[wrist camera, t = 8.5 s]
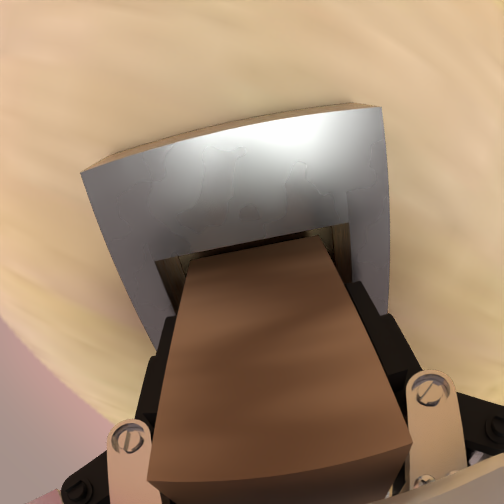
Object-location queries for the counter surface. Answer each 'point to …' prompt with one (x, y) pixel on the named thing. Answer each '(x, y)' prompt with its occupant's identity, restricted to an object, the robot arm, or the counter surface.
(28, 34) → the counter surface
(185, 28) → the counter surface
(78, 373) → the counter surface
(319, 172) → the grey flat frame
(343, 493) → the walnut block
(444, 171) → the counter surface
